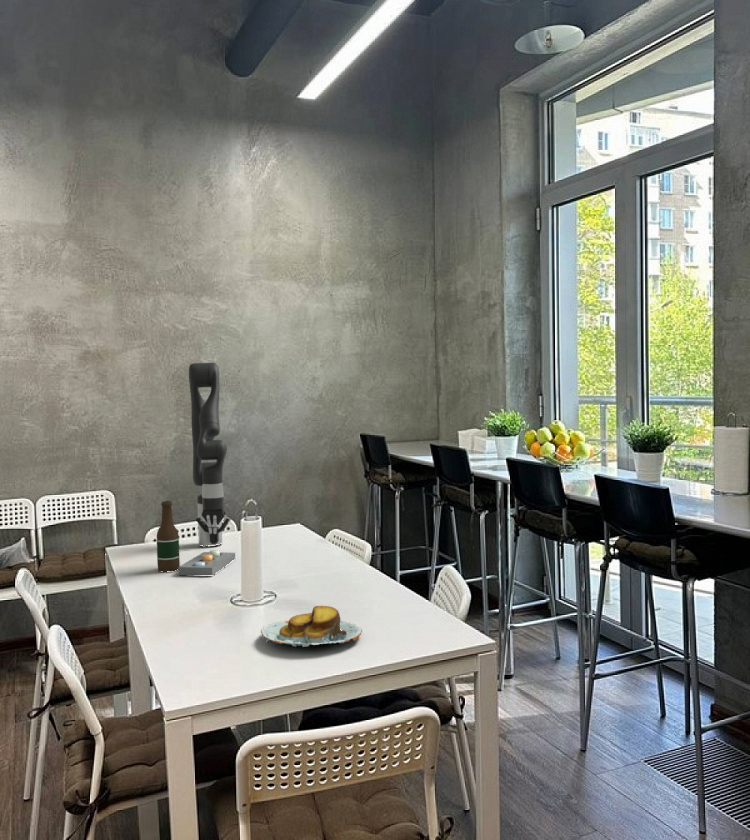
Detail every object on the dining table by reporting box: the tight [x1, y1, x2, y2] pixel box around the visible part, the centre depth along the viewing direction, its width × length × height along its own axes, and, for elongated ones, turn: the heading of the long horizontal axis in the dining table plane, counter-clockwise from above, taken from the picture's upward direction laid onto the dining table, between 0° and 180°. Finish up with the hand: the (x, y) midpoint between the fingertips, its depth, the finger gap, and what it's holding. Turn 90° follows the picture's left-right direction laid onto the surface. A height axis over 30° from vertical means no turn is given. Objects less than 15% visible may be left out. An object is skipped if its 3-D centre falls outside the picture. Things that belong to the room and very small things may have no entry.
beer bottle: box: [156, 500, 181, 573], centre depth 267 cm, size 8×8×24 cm
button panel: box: [177, 551, 236, 576], centre depth 269 cm, size 22×12×3 cm, turn 171°
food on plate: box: [260, 605, 363, 648], centre depth 194 cm, size 25×25×7 cm
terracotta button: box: [202, 554, 213, 561], centre depth 269 cm, size 4×4×3 cm
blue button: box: [194, 562, 205, 566], centre depth 262 cm, size 4×4×3 cm
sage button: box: [209, 549, 221, 557], centre depth 275 cm, size 4×4×3 cm
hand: (214, 543), depth 275 cm, fingers closed
